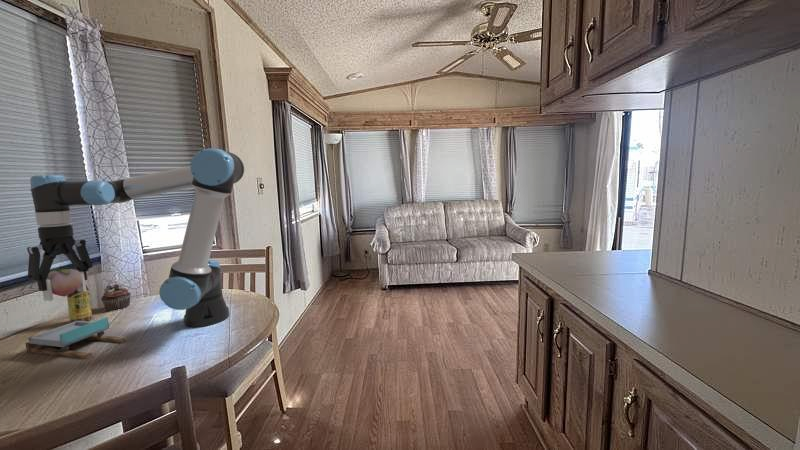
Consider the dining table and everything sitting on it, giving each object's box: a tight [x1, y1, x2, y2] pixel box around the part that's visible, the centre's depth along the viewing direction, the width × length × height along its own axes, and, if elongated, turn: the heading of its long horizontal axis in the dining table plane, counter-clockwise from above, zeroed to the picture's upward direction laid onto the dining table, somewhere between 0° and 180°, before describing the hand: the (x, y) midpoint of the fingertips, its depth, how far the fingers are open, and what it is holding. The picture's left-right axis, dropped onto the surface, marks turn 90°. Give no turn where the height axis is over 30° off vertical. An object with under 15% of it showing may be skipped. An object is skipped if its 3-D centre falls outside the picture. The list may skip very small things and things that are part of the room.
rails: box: [25, 334, 127, 359], centre depth 107 cm, size 24×12×3 cm, turn 78°
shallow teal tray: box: [28, 316, 110, 351], centre depth 107 cm, size 14×13×6 cm
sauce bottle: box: [66, 269, 93, 323], centre depth 126 cm, size 6×6×20 cm
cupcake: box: [100, 283, 132, 311], centre depth 140 cm, size 10×10×10 cm
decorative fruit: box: [47, 265, 82, 298], centre depth 105 cm, size 9×8×10 cm
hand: (66, 295), depth 105 cm, fingers closed on decorative fruit, 8 cm apart
